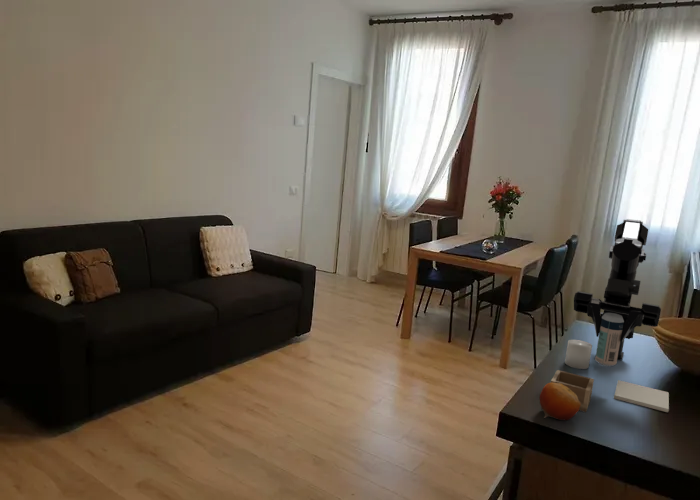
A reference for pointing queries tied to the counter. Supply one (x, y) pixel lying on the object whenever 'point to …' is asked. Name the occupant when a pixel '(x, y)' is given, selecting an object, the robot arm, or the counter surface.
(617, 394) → the plate
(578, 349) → the white rounded cylinder
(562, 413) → the fruit
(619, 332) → the beer can
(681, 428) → the counter surface
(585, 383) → the oak box
